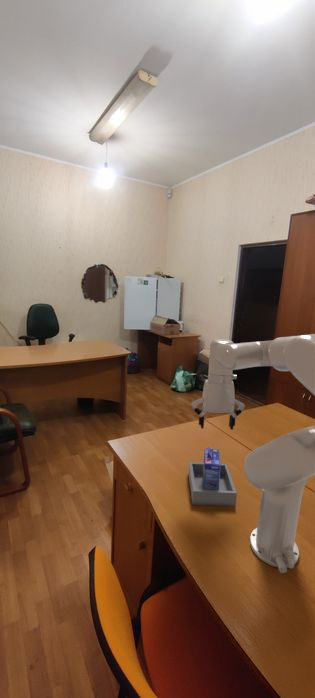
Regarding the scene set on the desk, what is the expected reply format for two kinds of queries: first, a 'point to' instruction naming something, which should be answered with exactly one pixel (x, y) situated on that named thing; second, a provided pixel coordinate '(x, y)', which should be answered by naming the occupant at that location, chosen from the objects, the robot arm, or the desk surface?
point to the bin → (211, 497)
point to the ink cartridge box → (211, 469)
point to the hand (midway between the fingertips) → (216, 427)
